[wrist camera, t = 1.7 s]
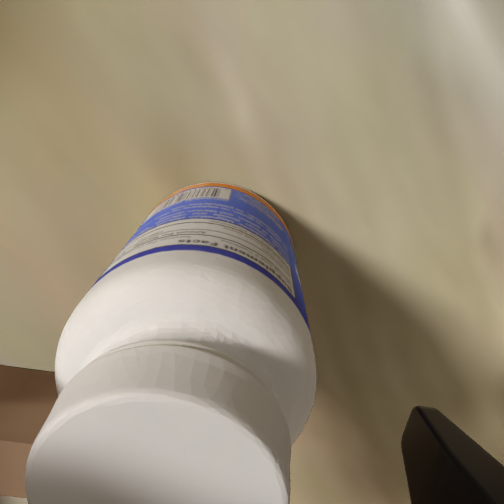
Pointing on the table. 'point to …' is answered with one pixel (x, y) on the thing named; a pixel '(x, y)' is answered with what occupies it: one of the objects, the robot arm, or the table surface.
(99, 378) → the pill bottle
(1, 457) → the walnut box
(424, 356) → the table surface
